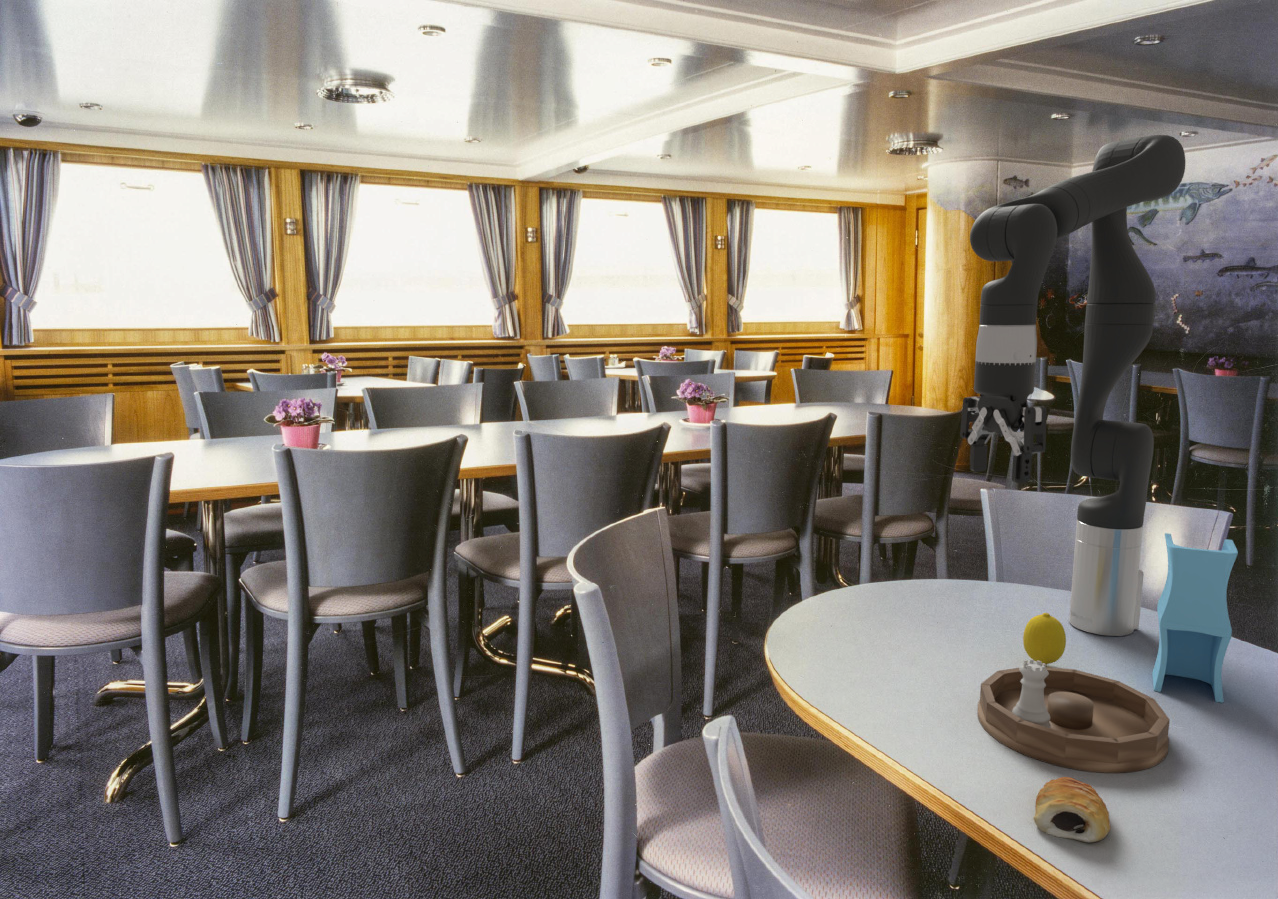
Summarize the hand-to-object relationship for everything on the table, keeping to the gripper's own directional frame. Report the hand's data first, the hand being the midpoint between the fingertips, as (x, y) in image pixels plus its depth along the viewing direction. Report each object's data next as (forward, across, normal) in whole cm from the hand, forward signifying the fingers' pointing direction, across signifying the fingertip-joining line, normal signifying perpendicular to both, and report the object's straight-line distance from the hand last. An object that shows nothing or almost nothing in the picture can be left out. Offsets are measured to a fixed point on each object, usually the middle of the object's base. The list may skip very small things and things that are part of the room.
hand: (998, 476), depth 120 cm
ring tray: (+28, -18, +2) cm, 33 cm away
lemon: (+28, -2, -8) cm, 29 cm away
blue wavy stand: (+28, -13, -22) cm, 38 cm away
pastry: (+28, -34, +17) cm, 47 cm away
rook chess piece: (+27, -18, +8) cm, 33 cm away
